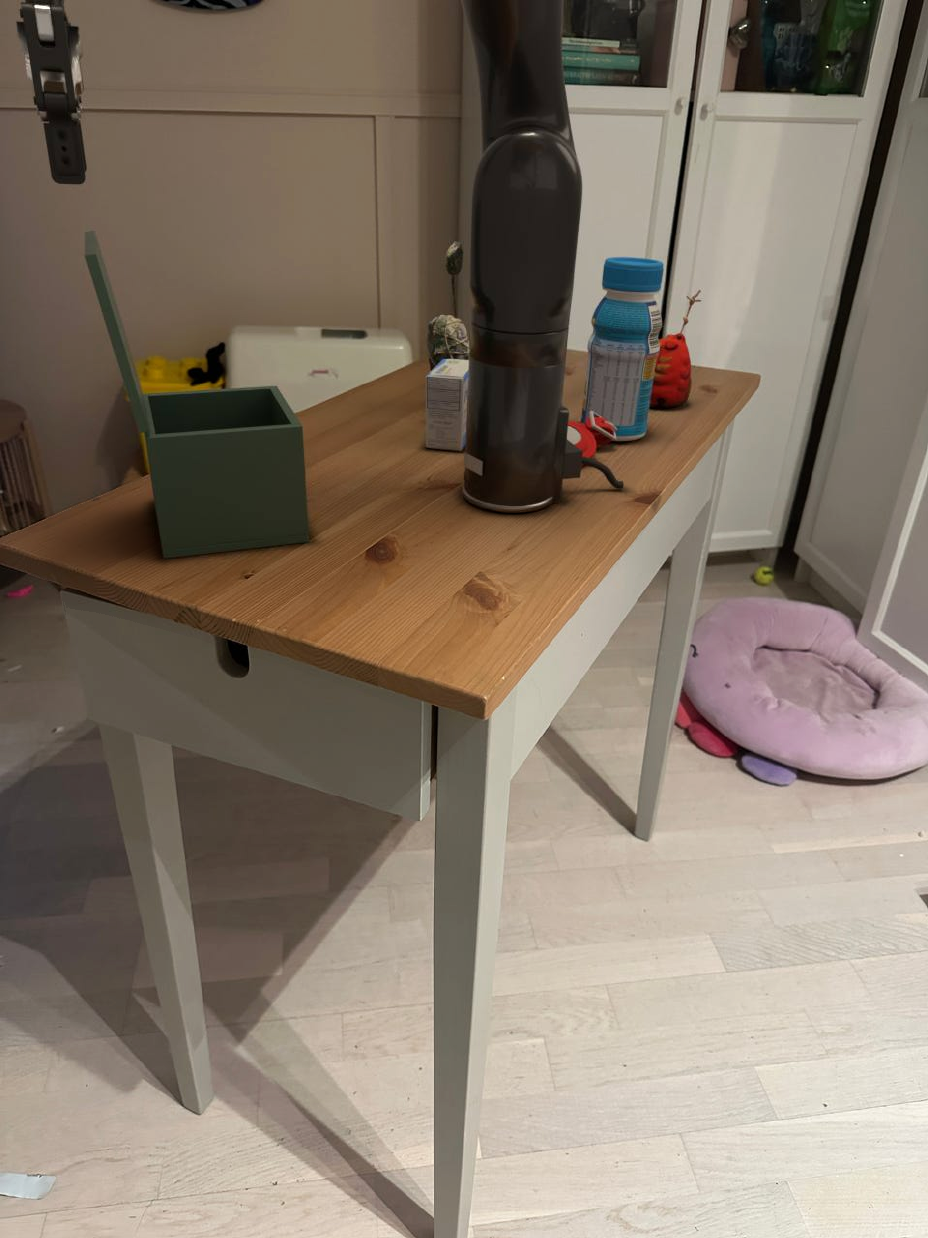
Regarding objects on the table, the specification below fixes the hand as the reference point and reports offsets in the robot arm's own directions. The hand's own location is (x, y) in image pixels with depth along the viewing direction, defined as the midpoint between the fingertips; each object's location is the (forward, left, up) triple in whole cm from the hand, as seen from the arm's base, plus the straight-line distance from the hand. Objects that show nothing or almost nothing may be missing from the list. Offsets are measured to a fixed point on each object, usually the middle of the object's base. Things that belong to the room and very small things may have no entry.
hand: (71, 178), depth 66 cm
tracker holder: (-49, -8, -29) cm, 57 cm away
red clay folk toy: (-70, -24, -29) cm, 80 cm away
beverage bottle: (-57, -14, -29) cm, 66 cm away
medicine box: (-37, -17, -29) cm, 50 cm away
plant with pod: (-42, -29, -29) cm, 58 cm away
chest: (-9, 0, -29) cm, 30 cm away
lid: (-2, 0, -11) cm, 11 cm away
